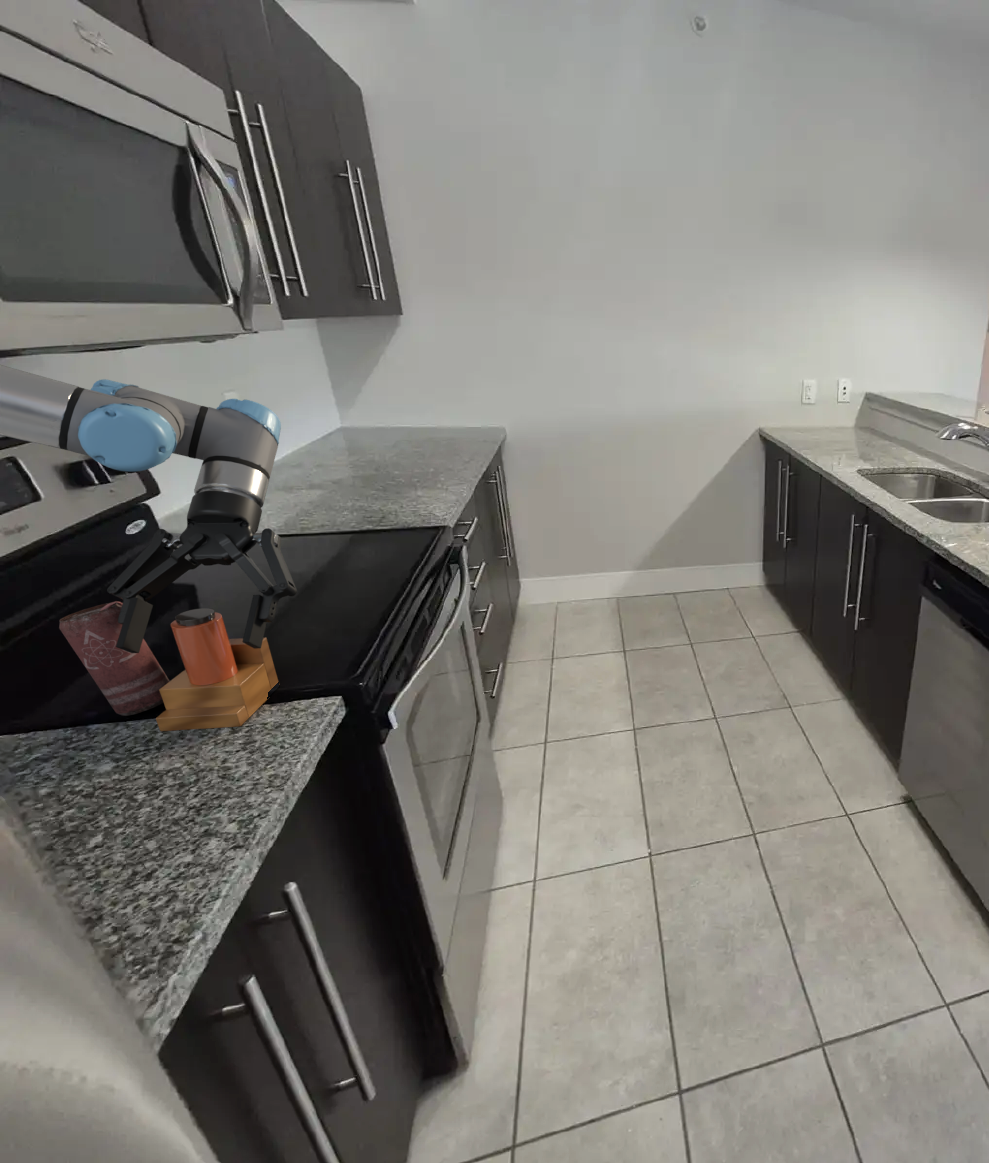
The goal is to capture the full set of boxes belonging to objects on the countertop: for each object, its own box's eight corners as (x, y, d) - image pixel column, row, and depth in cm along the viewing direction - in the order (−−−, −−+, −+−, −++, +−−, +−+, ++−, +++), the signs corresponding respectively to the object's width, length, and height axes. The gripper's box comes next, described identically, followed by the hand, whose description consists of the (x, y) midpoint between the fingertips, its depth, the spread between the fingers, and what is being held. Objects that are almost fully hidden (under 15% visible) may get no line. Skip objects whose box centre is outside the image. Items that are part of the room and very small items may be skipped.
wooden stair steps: (160, 731, 81) (140, 677, 78) (208, 690, 90) (192, 640, 88) (240, 726, 83) (224, 673, 80) (280, 686, 92) (266, 637, 89)
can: (188, 690, 87) (132, 598, 82) (133, 718, 82) (69, 621, 77) (163, 689, 90) (106, 599, 84) (108, 716, 84) (44, 622, 79)
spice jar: (179, 686, 82) (158, 623, 79) (204, 667, 87) (184, 606, 83) (224, 684, 83) (205, 621, 80) (246, 665, 88) (228, 605, 84)
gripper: (340, 514, 95) (315, 651, 87) (143, 515, 90) (97, 660, 82) (316, 488, 88) (286, 634, 80) (101, 487, 83) (46, 642, 75)
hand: (190, 648), depth 81 cm, fingers open, 13 cm apart
